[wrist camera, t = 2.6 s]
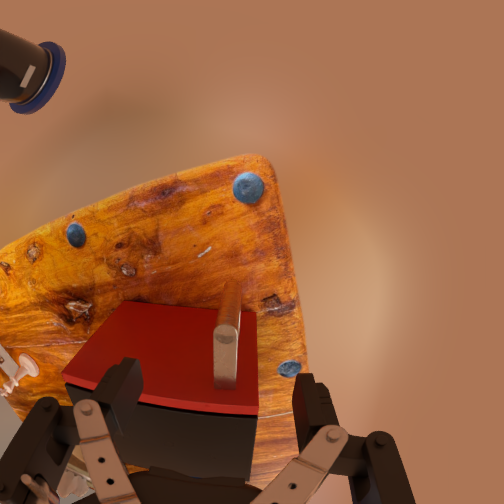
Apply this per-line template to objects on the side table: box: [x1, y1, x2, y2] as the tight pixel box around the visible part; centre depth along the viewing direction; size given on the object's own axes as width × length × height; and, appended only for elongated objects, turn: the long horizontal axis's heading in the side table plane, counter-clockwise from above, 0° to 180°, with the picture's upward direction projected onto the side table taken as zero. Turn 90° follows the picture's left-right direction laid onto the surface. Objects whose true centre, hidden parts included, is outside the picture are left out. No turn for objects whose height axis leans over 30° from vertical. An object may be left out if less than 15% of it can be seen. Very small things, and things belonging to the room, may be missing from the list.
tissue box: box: [57, 454, 94, 498], centre depth 34 cm, size 19×10×16 cm, turn 74°
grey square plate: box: [0, 344, 19, 377], centre depth 35 cm, size 8×8×2 cm
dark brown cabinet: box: [65, 382, 258, 481], centre depth 26 cm, size 11×16×15 cm
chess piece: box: [0, 353, 39, 397], centre depth 31 cm, size 5×5×10 cm
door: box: [61, 279, 259, 415], centre depth 24 cm, size 7×16×15 cm, turn 86°
